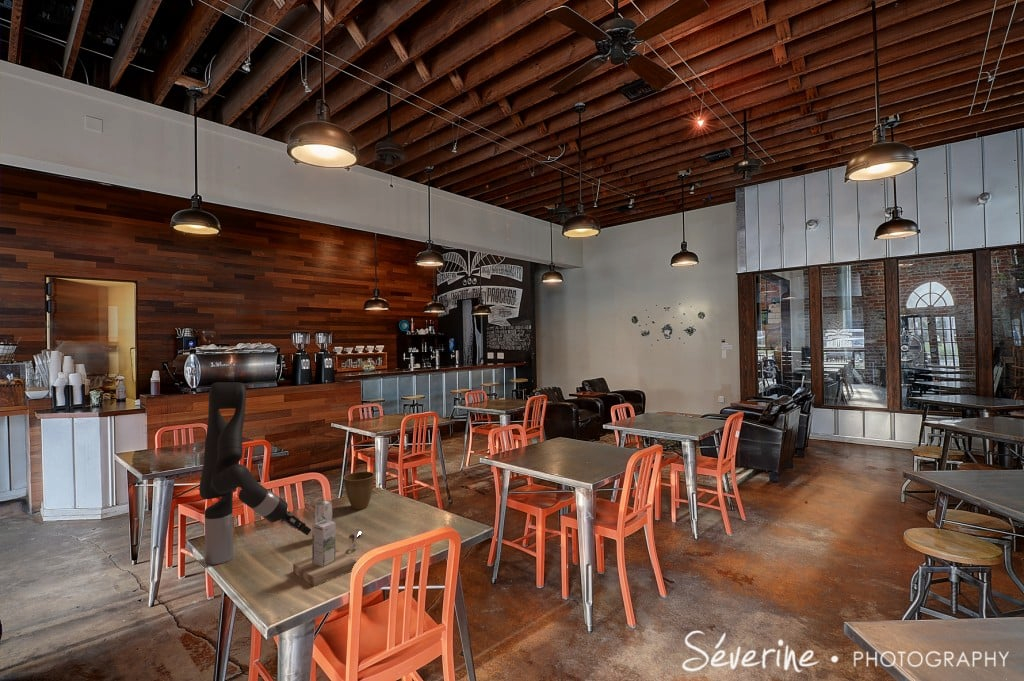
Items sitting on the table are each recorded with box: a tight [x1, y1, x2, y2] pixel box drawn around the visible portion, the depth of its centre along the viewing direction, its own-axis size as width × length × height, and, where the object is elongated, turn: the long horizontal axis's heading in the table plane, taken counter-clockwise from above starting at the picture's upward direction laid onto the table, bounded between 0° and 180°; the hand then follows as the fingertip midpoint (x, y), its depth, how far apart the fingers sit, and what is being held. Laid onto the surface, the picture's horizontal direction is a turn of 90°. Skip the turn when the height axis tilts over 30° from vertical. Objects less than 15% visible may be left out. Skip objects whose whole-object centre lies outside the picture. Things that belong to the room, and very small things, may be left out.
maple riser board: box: [292, 549, 358, 587], centre depth 176 cm, size 16×16×3 cm
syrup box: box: [311, 520, 337, 567], centre depth 175 cm, size 6×6×14 cm
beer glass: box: [314, 499, 333, 524], centre depth 205 cm, size 7×7×15 cm
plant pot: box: [343, 471, 375, 511], centre depth 242 cm, size 15×15×16 cm
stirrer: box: [347, 529, 364, 550], centre depth 200 cm, size 20×4×5 cm
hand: (303, 529), depth 170 cm, fingers open, 8 cm apart
